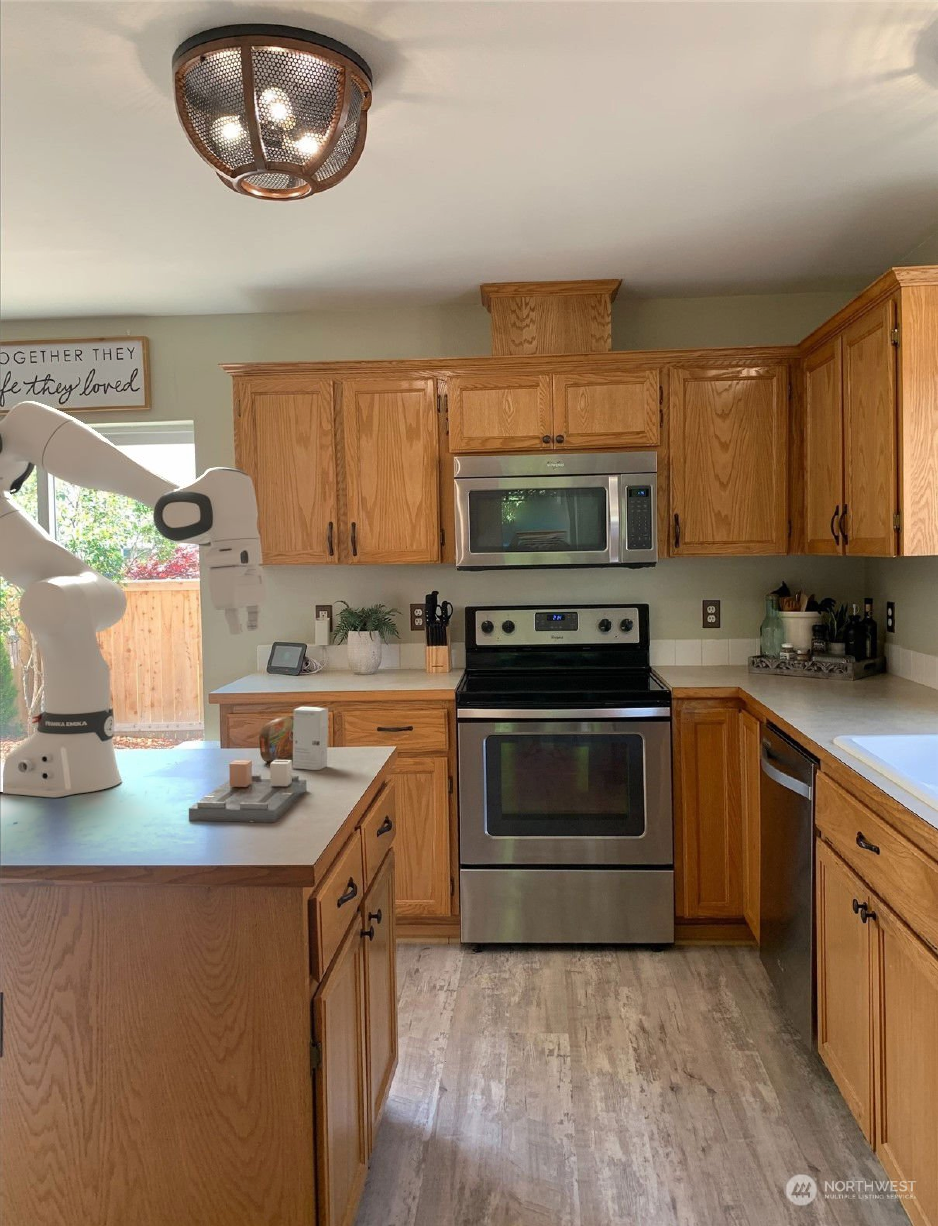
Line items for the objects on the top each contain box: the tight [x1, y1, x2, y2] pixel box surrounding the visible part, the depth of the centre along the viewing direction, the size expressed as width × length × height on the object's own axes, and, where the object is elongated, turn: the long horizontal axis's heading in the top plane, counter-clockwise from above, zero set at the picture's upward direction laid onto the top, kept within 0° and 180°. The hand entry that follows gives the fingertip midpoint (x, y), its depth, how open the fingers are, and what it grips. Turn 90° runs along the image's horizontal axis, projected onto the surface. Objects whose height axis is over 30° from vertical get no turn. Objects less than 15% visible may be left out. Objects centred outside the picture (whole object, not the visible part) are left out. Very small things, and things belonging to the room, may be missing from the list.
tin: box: [258, 715, 294, 763], centre depth 190 cm, size 15×3×8 cm, turn 168°
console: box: [188, 774, 307, 824], centre depth 154 cm, size 14×20×3 cm
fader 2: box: [269, 759, 293, 786], centre depth 159 cm, size 3×3×4 cm
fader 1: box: [228, 759, 253, 787], centre depth 159 cm, size 3×3×4 cm
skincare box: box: [292, 706, 329, 771], centre depth 181 cm, size 6×4×12 cm
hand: (245, 632), depth 164 cm, fingers open, 8 cm apart
